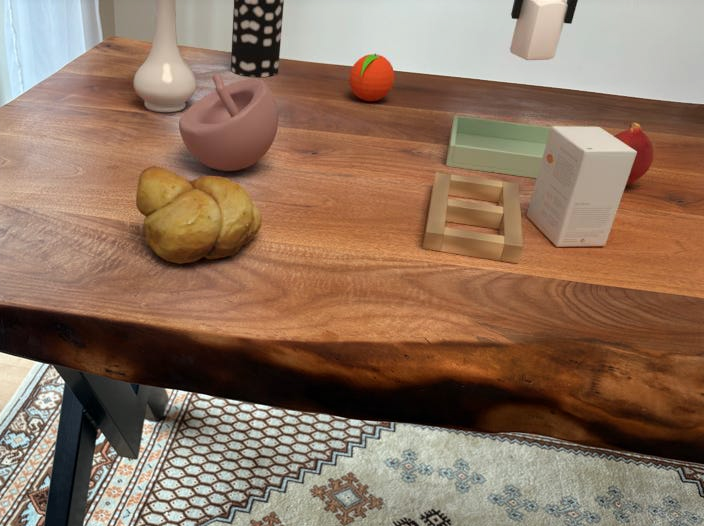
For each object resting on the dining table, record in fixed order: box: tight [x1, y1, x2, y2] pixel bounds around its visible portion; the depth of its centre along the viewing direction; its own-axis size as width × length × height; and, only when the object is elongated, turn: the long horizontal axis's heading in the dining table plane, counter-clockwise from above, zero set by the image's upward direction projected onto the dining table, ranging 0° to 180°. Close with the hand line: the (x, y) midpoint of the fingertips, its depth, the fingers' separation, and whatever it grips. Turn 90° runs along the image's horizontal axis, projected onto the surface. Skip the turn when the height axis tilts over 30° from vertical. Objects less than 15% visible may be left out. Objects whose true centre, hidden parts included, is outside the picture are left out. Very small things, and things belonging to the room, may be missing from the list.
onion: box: [613, 122, 654, 185], centre depth 94 cm, size 6×6×8 cm
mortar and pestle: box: [178, 72, 279, 172], centre depth 93 cm, size 12×12×12 cm
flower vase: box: [132, 0, 198, 113], centre depth 109 cm, size 13×18×25 cm
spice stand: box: [422, 171, 524, 265], centre depth 85 cm, size 10×17×2 cm, turn 164°
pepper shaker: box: [509, 0, 568, 61], centre depth 88 cm, size 4×4×10 cm
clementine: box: [349, 53, 395, 102], centre depth 120 cm, size 8×7×7 cm
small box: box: [526, 125, 637, 248], centre depth 82 cm, size 8×6×10 cm
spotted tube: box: [230, 0, 285, 78], centre depth 128 cm, size 8×8×20 cm
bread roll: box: [135, 165, 263, 264], centre depth 75 cm, size 13×10×8 cm
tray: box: [445, 114, 552, 179], centre depth 103 cm, size 15×13×3 cm
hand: (540, 18), depth 88 cm, fingers closed on pepper shaker, 5 cm apart
